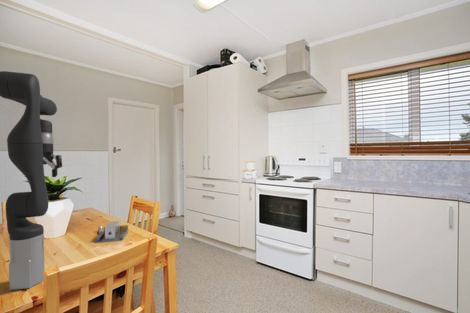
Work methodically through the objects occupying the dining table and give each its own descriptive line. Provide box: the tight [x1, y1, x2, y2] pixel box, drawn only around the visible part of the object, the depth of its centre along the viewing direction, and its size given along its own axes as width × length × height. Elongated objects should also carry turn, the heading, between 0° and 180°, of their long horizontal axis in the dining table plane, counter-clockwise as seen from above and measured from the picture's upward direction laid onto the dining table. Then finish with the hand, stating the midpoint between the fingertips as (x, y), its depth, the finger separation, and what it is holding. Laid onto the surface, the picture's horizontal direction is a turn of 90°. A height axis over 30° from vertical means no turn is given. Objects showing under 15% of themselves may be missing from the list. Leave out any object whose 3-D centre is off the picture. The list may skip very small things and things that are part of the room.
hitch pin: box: [97, 226, 104, 235], centre depth 134 cm, size 7×3×3 cm, turn 33°
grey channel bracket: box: [94, 224, 129, 244], centre depth 127 cm, size 14×13×4 cm
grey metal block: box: [104, 220, 121, 240], centre depth 127 cm, size 10×5×7 cm, turn 13°
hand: (43, 177), depth 106 cm, fingers open, 8 cm apart
